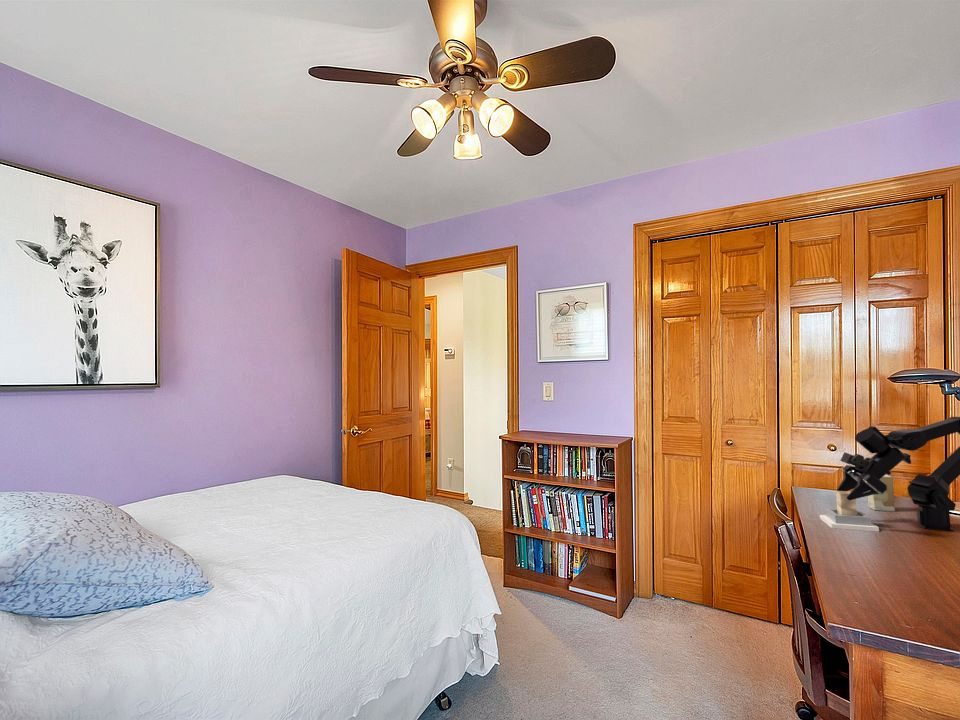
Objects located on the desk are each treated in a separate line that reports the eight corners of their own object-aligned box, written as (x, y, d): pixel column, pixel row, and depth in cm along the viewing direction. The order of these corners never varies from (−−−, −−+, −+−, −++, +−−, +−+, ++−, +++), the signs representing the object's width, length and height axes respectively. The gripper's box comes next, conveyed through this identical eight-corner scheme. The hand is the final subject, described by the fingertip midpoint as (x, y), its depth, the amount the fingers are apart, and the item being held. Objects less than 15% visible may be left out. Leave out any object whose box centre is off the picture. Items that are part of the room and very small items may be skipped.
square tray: (863, 521, 151) (862, 509, 152) (879, 531, 141) (878, 519, 141) (819, 518, 156) (819, 507, 156) (831, 528, 145) (830, 516, 145)
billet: (852, 519, 149) (850, 491, 150) (857, 523, 146) (855, 494, 146) (837, 518, 151) (836, 490, 151) (842, 521, 147) (840, 493, 148)
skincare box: (874, 510, 164) (871, 475, 164) (868, 507, 168) (865, 473, 169) (896, 511, 162) (893, 476, 163) (889, 508, 166) (886, 474, 167)
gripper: (847, 441, 157) (811, 472, 160) (870, 447, 140) (829, 482, 143) (878, 465, 154) (840, 496, 157) (905, 475, 136) (862, 510, 139)
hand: (842, 495), depth 149 cm, fingers open, 9 cm apart
